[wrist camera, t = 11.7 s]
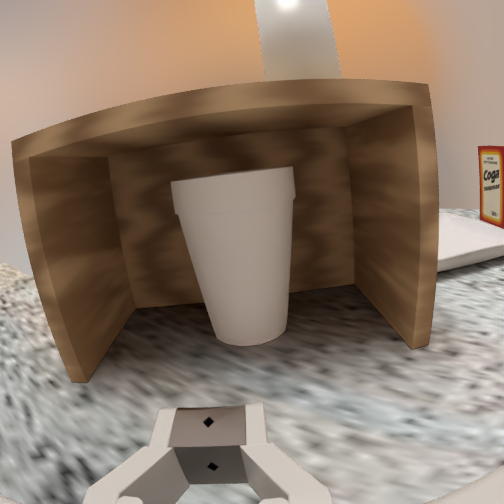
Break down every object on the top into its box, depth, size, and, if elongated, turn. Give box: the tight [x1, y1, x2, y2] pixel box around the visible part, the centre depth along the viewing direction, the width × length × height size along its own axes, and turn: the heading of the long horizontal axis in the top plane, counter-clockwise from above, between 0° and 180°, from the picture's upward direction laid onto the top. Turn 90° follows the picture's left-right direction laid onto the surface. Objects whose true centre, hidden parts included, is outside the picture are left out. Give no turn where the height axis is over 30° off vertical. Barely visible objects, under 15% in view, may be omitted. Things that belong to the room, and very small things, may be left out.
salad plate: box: [437, 213, 504, 272], centre depth 41 cm, size 21×21×3 cm
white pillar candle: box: [254, 0, 342, 81], centre depth 22 cm, size 6×6×10 cm
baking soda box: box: [478, 146, 504, 229], centre depth 49 cm, size 10×6×16 cm
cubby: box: [11, 79, 439, 383], centre depth 25 cm, size 27×15×18 cm, turn 92°
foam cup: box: [171, 166, 296, 346], centre depth 26 cm, size 10×9×13 cm
